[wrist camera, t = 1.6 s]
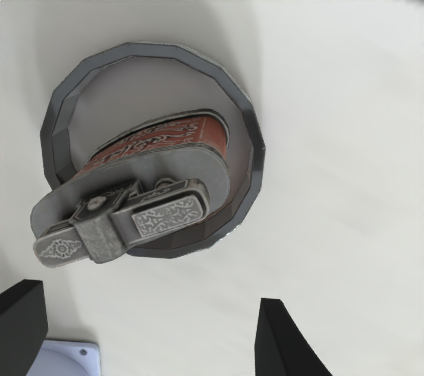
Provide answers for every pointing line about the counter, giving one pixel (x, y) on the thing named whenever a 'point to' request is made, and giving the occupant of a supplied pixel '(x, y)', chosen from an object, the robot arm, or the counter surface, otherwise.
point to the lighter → (136, 190)
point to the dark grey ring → (90, 67)
